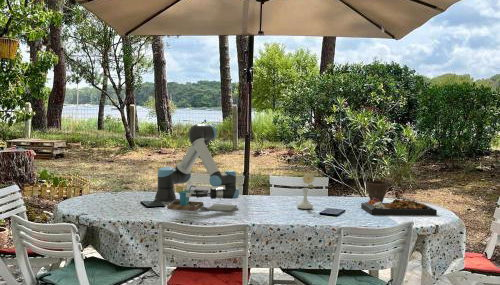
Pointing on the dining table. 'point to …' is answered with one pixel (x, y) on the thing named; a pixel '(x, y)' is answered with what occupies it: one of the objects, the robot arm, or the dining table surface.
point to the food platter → (397, 208)
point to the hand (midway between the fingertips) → (185, 193)
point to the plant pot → (376, 189)
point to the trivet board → (222, 207)
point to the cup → (183, 195)
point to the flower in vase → (305, 203)
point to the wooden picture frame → (174, 206)
